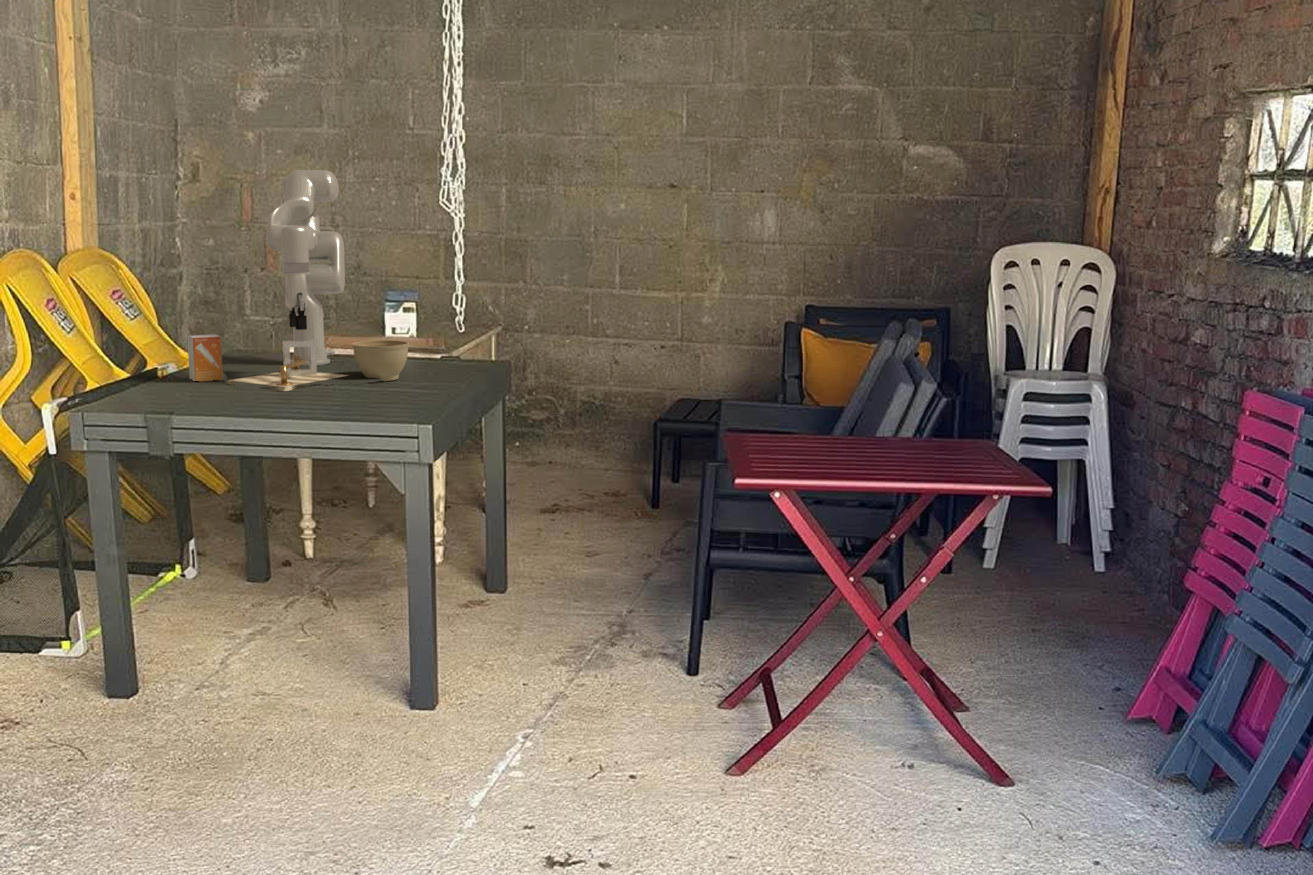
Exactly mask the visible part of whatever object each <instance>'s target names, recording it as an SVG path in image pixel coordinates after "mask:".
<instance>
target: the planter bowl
mask: <svg viewBox="0 0 1313 875" xmlns="http://www.w3.org/2000/svg"><path fill="white" fill-rule="evenodd" d="M409 344H410V343H409V342H408V341H407V340H406V341H405V340H396V339H395V340H394V339H389V340H388V339H380V340H377V339H376V340H365V341H357V342H354V343H352V349H353V355H354V359H355V362H356V364H357V367H358V369H359V370H360V371H361V373H362V374H363V375H364V377H365V378H371V379H380V380H381V381H382V382H388V381H395V380H398V379H399V376H400V373H401V372H402V370H404V367H405V365H406V363H407V360H408V352H409V350H408V349H409Z"/></svg>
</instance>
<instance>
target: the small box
mask: <svg viewBox="0 0 1313 875" xmlns="http://www.w3.org/2000/svg"><path fill="white" fill-rule="evenodd" d="M186 339H187V353H188V354H187V355H188V359H187V360H188V372H189V374H188V375H189V380H190V379H192V380H193V381H192V380H191V381H192V382H194V381H199V382H214V381H213V380H219V381H222V380H221V379H224V377H223V360H222V358H223V355H222V338H221V336H220V335H218V334H216V333H213V334H212V333H211V334H196V335H195V334H194V335H187V338H186Z"/></svg>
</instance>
